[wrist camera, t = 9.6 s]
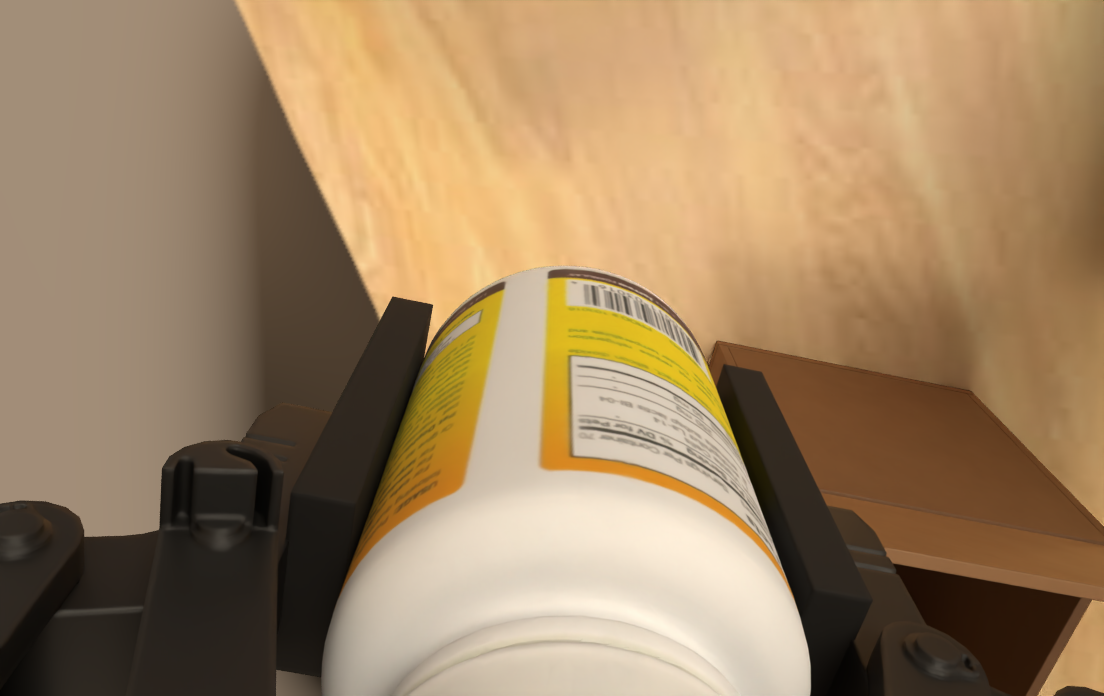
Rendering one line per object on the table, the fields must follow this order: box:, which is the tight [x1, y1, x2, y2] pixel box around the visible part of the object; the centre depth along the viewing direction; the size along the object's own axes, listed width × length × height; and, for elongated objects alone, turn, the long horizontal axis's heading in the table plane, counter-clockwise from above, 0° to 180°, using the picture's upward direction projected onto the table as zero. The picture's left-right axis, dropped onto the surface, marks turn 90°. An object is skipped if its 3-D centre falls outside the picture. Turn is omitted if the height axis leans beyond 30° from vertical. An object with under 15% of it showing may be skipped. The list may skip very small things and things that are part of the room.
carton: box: [709, 341, 1104, 696], centre depth 36 cm, size 15×13×19 cm
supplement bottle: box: [321, 266, 811, 696], centre depth 12 cm, size 6×6×10 cm
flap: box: [821, 493, 1104, 602], centre depth 27 cm, size 7×13×1 cm
